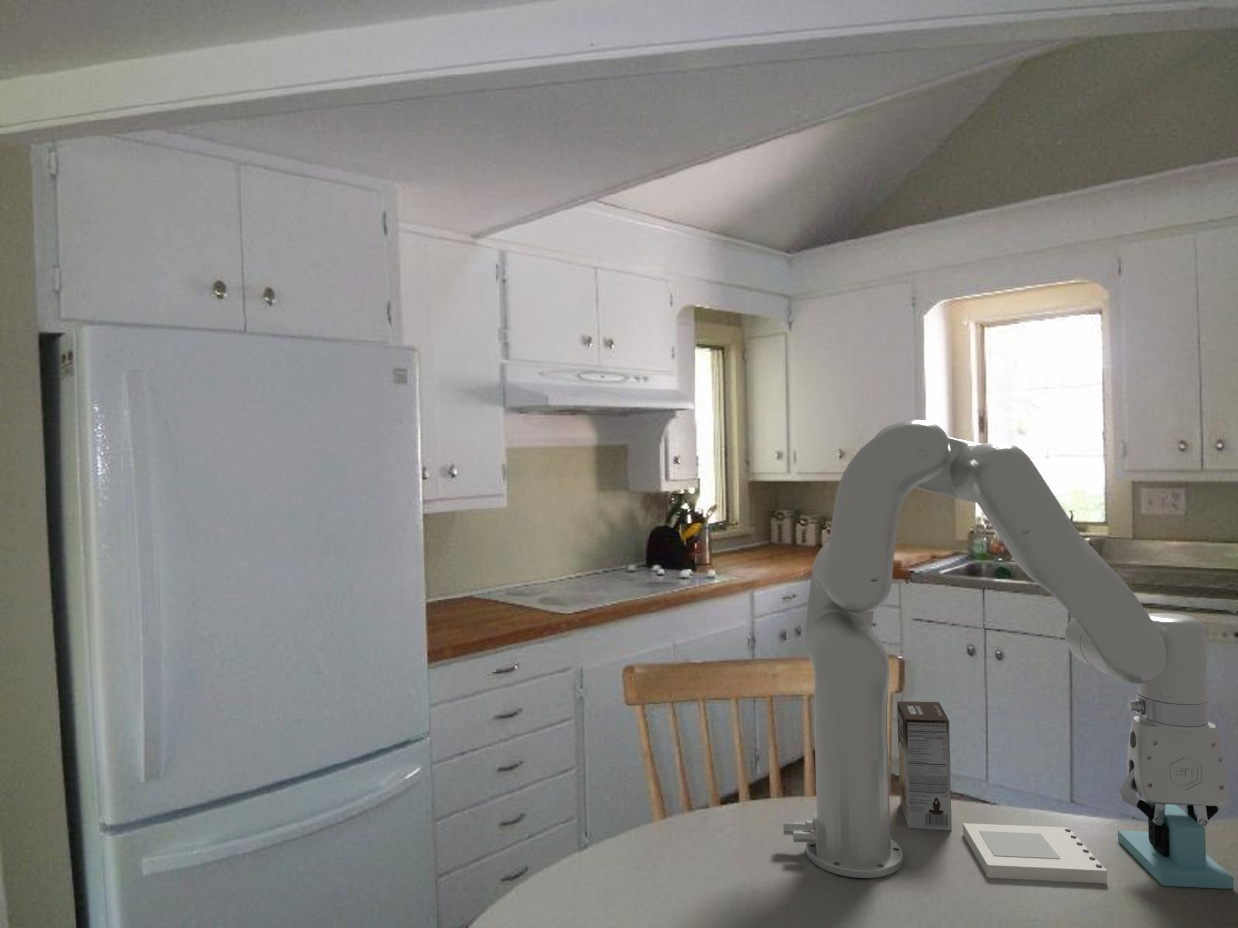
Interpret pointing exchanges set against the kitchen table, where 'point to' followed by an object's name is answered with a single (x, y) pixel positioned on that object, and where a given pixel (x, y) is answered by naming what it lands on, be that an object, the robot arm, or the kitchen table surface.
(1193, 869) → the stub
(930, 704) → the coffee box
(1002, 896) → the kitchen table surface
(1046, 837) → the white notebook
